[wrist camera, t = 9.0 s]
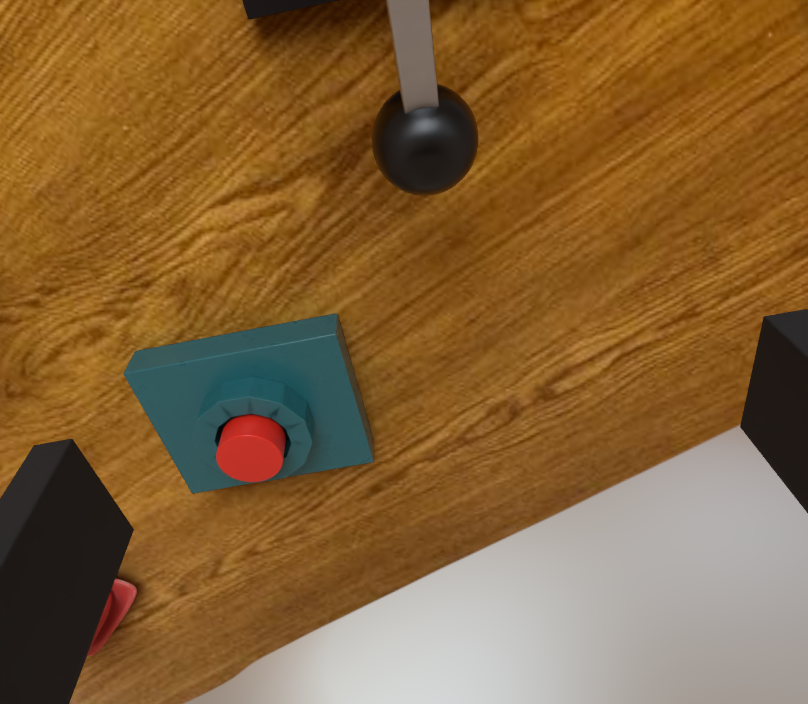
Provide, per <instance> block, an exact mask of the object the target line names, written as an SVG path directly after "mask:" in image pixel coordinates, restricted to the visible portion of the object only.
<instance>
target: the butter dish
mask: <svg viewBox="0 0 808 704" xmlns="http://www.w3.org/2000/svg"><path fill="white" fill-rule="evenodd" d="M136 594H137V589H136V587H135V586H134V585H133V584H131V583H129V582H126V581H123V580H121V579H117V578H116V579H115V581H114V584H113V587H112V589H111V592H110V595H109V597H108V600H107V603H106V606H105V608H104V611H103V614H102V616H101V619H100V622H99V624H98V627H97V630H96V632H95V635H94V638H93V640H92V643H91V646H90V649H89V651H88V654H87V656H89V655H94V654H96V653H97V652H98V651H99V650H100V649H101V648H102V647H103V645H104V644H105V643H106V642H107V640H108V639H109V637H110V636H111V634H112V633H113V632H114V630H115V629H116V628H117V626H118V625H119V623H120V622H121V620H122V619H123V617H124V616H125V614H126V613H127V611H128V610H129V608H130V606H131V605H132V603H133V601H134V600H135V597H136Z"/></svg>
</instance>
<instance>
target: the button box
mask: <svg viewBox="0 0 808 704" xmlns="http://www.w3.org/2000/svg"><path fill="white" fill-rule="evenodd" d="M124 376H125V377H126V379H127V381H128V383H129V384H130V386H131V388H132V390H133V391H134V393H135V395H136V397H137V398H138V400H139V402H140V403H141V405H142V407H143V409H144V410H145V412H146V414H147V416H148V417H149V419H150V421H151V423H152V424H153V426H154V428H155V430H156V431H157V433H158V435H159V437H160V438H161V440H162V442H163V444H164V445H165V447H166V449H167V451H168V452H169V454H170V456H171V457H172V459H173V461H174V463H175V464H176V466H177V468H178V470H179V471H180V473H181V475H182V477H183V478H184V480H185V482H186V484H187V485H188V487H189V489H190V491H191V492H192V493H199V492H204V491H210V490H216V489H222V488H227V487H233V486H239V485H245V484H250V483H260V482H266V481H271V480H277V479H283V478H286V477H290V476H296V475H302V474H308V473H313V472H319V471H325V470H331V469H336V468H342V467H348V466H354V465H359V464H365V463H371V462H374V447H373V436H372V432H371V429H370V425H369V422H368V419H367V415H366V412H365V408H364V405H363V401H362V398H361V394H360V391H359V387H358V384H357V380H356V377H355V373H354V370H353V366H352V363H351V359H350V356H349V352H348V349H347V345H346V342H345V339H344V335H343V332H342V328H341V325H340V321H339V318H338V314H331V315H325V316H320V317H315V318H309V319H304V320H299V321H293V322H288V323H283V324H277V325H272V326H267V327H261V328H256V329H251V330H245V331H240V332H235V333H229V334H224V335H219V336H213V337H208V338H203V339H197V340H192V341H187V342H181V343H176V344H171V345H165V346H160V347H155V348H149V349H144V350H139V351H135V353H134V355H133V356H132V358H131V360H130V362H129V364H128V366H127V368H126V370H125V371H124ZM247 414H255V415H260V416H264V417H268V418H270V419H272V420H274V421H275V422H277V423H278V424H279V425H280V426H281V427H282V429H283V431H284V433H285V436H286V444H285V451H284V458H283V464H282V467H281V469H280V470H279V472H278V473H277V474H276V475H274V476H273V477H271V478H269V479H267V480H264V481H259V482H245V481H240V480H237V479H234V478H232V477H230V476H228V475H227V474H226V473H224V472H223V471H222V470H221V468H220V467H219V465H218V463H217V460H216V453H217V449H218V445H219V441H220V438H221V434H222V431H223V428H224V426H225V425H226V424H227V423H228V422H229V421H230V420H232V419H233V418H235V417H238V416H241V415H247Z"/></svg>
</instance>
